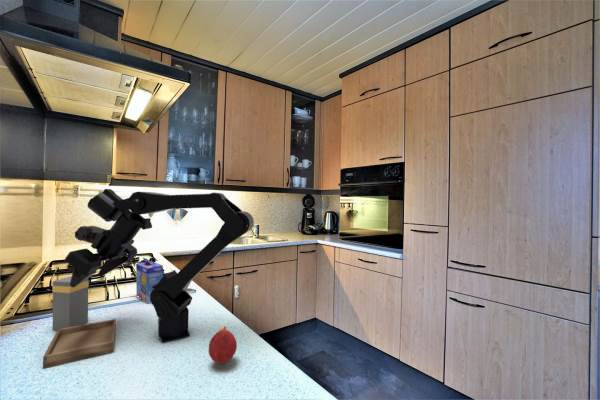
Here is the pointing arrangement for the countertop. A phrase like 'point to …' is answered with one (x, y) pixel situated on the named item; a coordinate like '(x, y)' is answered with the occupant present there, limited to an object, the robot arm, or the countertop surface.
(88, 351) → the tray
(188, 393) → the countertop surface
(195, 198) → the robot arm
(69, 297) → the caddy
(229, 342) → the onion
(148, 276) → the ink cartridge box
